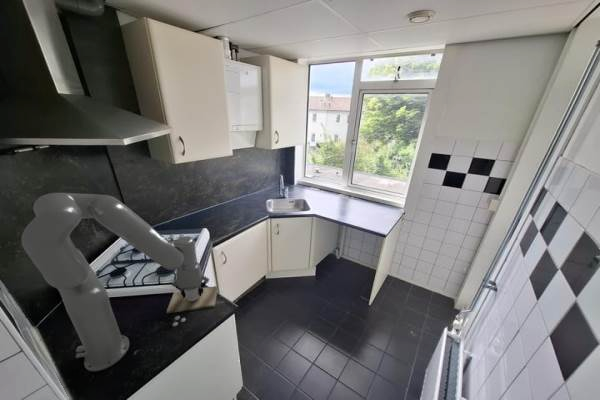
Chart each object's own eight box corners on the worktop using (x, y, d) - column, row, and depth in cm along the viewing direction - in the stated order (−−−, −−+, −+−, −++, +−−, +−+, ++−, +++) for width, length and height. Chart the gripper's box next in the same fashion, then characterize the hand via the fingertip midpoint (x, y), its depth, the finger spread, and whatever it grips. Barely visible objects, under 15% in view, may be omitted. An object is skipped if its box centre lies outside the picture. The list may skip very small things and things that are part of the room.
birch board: (167, 313, 98) (166, 311, 97) (174, 293, 109) (174, 291, 108) (214, 306, 102) (214, 304, 102) (217, 287, 113) (217, 286, 113)
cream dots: (171, 326, 92) (171, 326, 92) (175, 316, 96) (175, 316, 96) (184, 324, 93) (184, 324, 93) (187, 314, 98) (187, 314, 97)
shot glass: (196, 289, 109) (194, 277, 106) (203, 296, 105) (202, 284, 103) (182, 297, 104) (180, 285, 101) (189, 304, 100) (187, 292, 97)
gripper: (163, 271, 92) (170, 303, 99) (207, 266, 96) (211, 298, 103) (169, 260, 99) (175, 291, 106) (209, 256, 103) (213, 286, 109)
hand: (192, 294), depth 104 cm, fingers closed on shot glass, 6 cm apart
